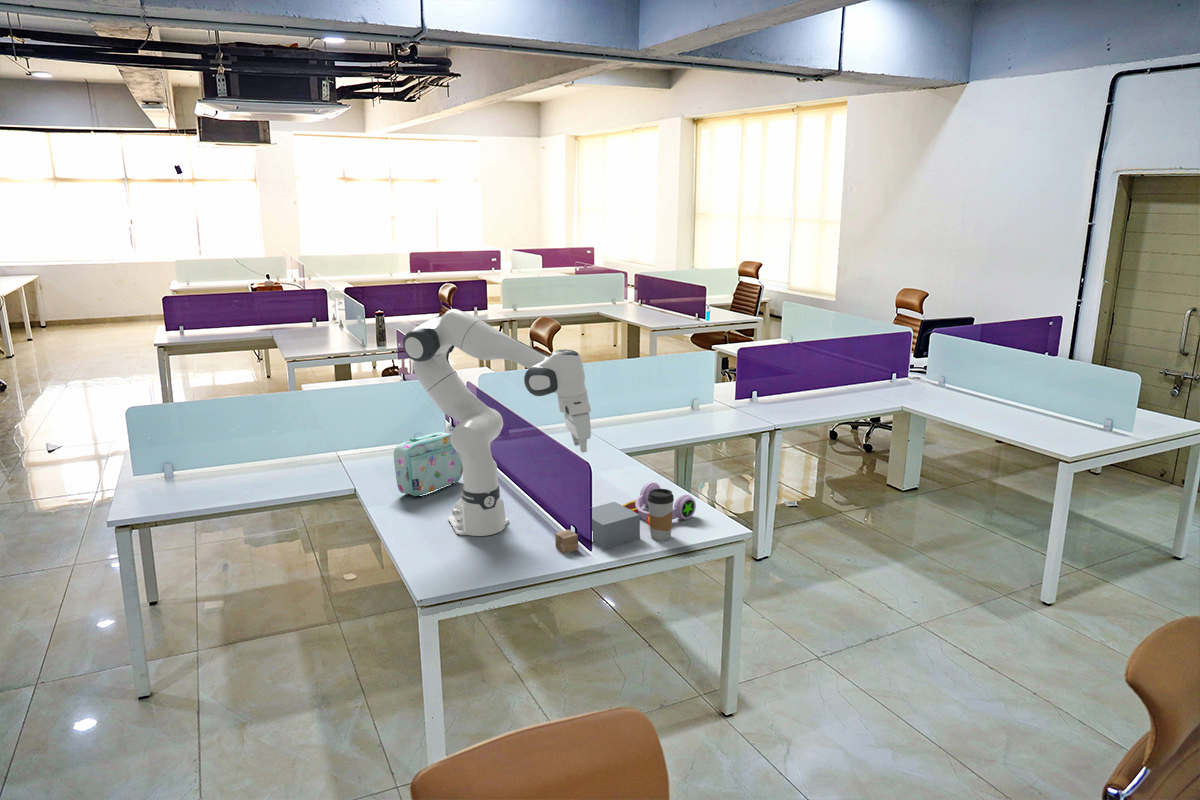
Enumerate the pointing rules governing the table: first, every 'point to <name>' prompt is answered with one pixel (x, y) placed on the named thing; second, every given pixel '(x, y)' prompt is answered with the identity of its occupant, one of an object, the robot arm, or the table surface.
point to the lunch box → (426, 464)
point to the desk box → (614, 525)
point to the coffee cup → (660, 513)
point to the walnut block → (566, 541)
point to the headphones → (681, 509)
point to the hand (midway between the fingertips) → (580, 448)
